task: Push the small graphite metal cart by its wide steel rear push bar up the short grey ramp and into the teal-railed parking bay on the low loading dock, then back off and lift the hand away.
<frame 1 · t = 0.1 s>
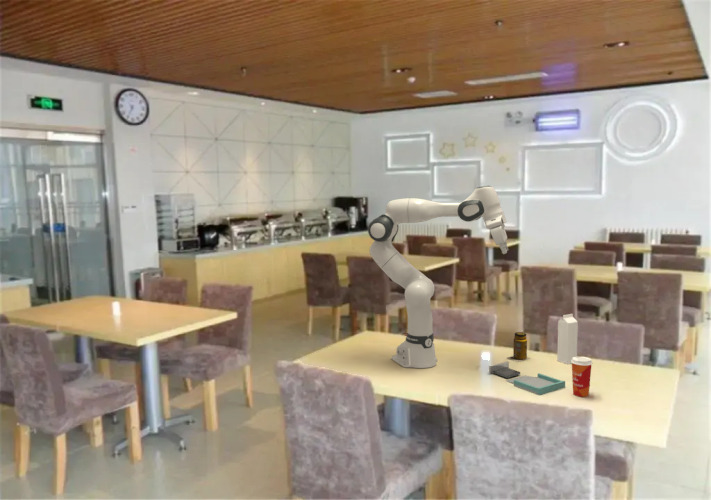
hand: (505, 252, 249), 52 cm above the table, tool tilted 20°, fingers open, 8 cm apart
loading dock: (538, 386, 234), on the table
paper cup: (580, 394, 224), on the table
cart: (505, 374, 249), on the table
milk: (567, 362, 265), on the table
condiment: (518, 359, 272), on the table
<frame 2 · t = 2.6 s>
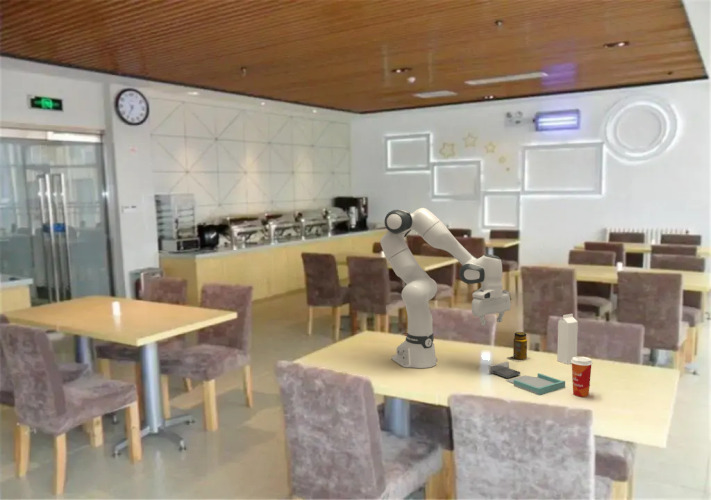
hand: (491, 323, 254), 21 cm above the table, tool pointing down, fingers open, 8 cm apart
nothing on the table moved.
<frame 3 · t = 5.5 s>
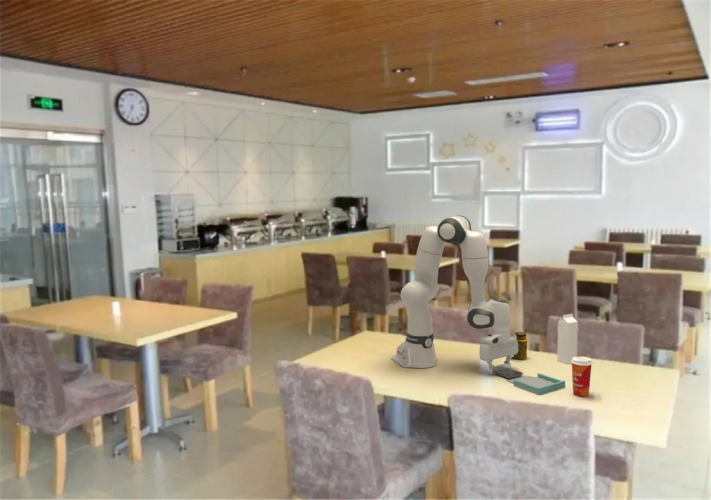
hand: (499, 367, 252), 2 cm above the table, tool pointing down
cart: (508, 375, 248), on the table, touching gripper
everything else where it was.
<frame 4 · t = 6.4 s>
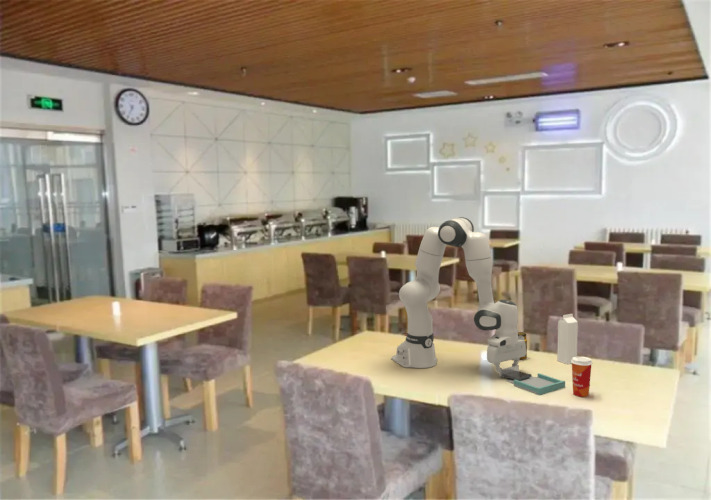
hand: (506, 370, 248), 2 cm above the table, tool pointing down
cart: (516, 377, 244), on the table, touching gripper
everything else where it was.
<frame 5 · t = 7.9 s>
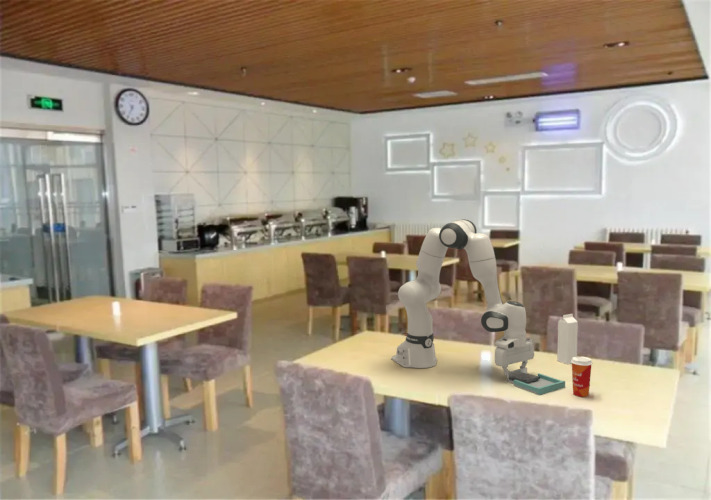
hand: (514, 372, 245), 2 cm above the table, tool pointing down
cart: (524, 380, 240), point 1 cm above the table, touching gripper
everything else where it was.
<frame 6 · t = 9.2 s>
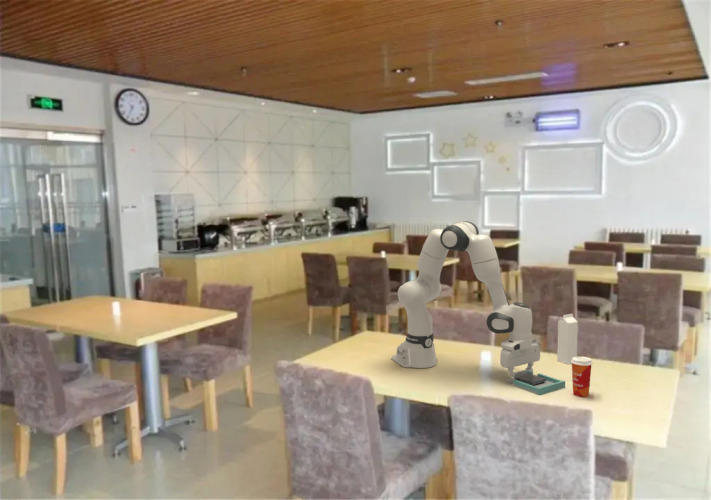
hand: (520, 374, 242), 2 cm above the table, tool pointing down
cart: (530, 381, 237), point 1 cm above the table, touching gripper, loading dock
everything else where it was.
when the fingers open (2 cm above the table, at t = 10.1 s): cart stays where it is, resting on loading dock.
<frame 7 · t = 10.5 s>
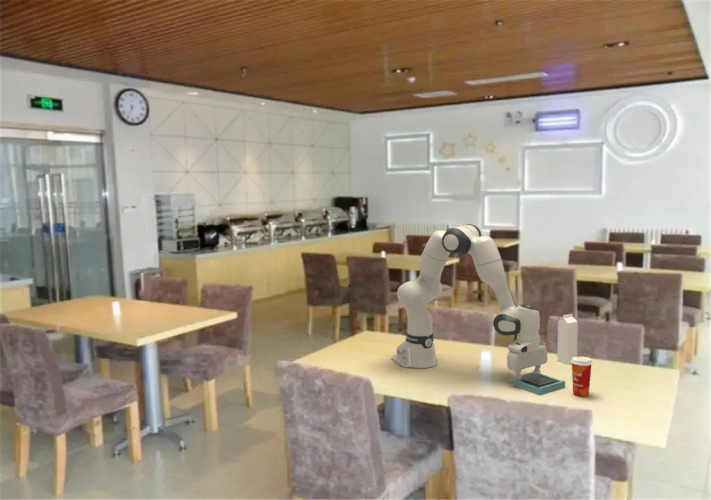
hand: (527, 377, 239), 2 cm above the table, tool pointing down, fingers open, 8 cm apart
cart: (538, 384, 234), point 1 cm above the table, touching gripper, loading dock
everything else where it was.
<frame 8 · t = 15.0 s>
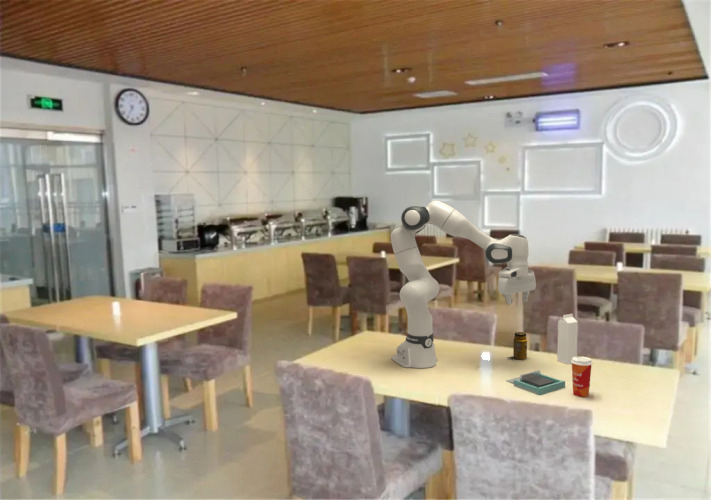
hand: (517, 302, 256), 29 cm above the table, tool pointing down, fingers open, 8 cm apart
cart: (538, 384, 234), point 1 cm above the table, touching loading dock
everything else where it was.
at the end: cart inside the target area (0.6 cm from its centre), point 0.8 cm above the table; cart tilted 0° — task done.
